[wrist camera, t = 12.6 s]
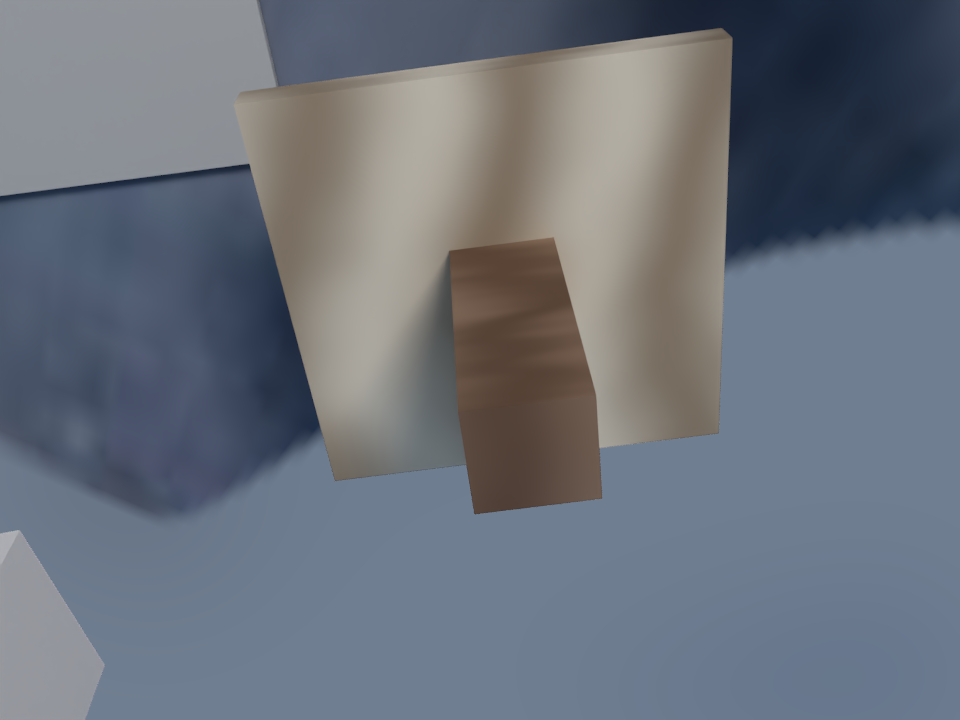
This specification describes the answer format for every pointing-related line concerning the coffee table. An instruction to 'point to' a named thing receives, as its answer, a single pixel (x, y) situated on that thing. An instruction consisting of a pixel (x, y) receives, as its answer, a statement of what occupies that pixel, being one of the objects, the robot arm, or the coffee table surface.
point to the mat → (124, 88)
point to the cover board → (495, 185)
